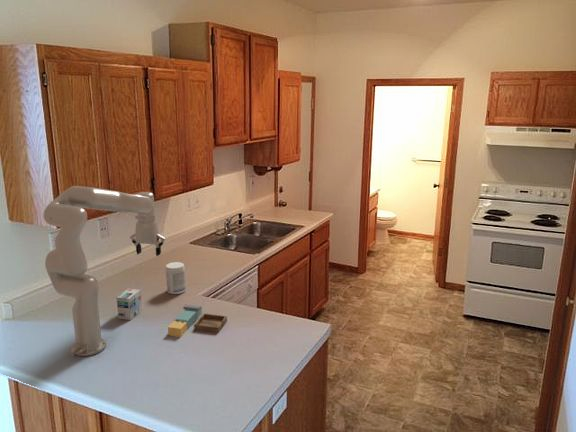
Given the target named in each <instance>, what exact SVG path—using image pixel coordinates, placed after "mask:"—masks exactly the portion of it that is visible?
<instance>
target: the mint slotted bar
mask: <svg viewBox="0 0 576 432" xmlns="http://www.w3.org/2000/svg"><path fill="white" fill-rule="evenodd" d="M202 308H203V307H202V305H198V304H197V305H196V304H184V306H183V309H182V311H181V312H180V314H178V316H177V317H176V318H175V319H174V321H180V322H187V331H188V330H189V329H190V328H191V326H193V325H194V324H195V323H196V322H197V321H198V320H199V318H200V317H201V316H202V315H203V309H202Z"/></svg>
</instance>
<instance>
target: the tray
mask: <svg viewBox="0 0 576 432" xmlns="http://www.w3.org/2000/svg"><path fill="white" fill-rule="evenodd" d="M227 322H228V316H227V315H221V314H220V315H218V314H209V313H202V314H201V315H200V316H199V318H198V319H197V320H196V321H195V322H194V323H193V330H194V331H200V332H208V333H216V334H219V333H220V331H221V330H222V329H223V327H224V326H225V324H227Z"/></svg>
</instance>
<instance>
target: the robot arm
mask: <svg viewBox="0 0 576 432" xmlns="http://www.w3.org/2000/svg"><path fill="white" fill-rule="evenodd" d="M86 209H87V210H94V211H95V210H97V211H107V212H108V211H109V212H115V213H117V212H119V213H122V212H123V213H124V212H125V213H134V214H135V213H137V215H135V219H136V220H137V221H136V223H135V230H134V231H135V233H134V234H131V235H130V236H129V238H130V240H131V242H132V244H133V245H134V246H135V251H136V254H137V255H139V254H141V253H142V245H141V244H145V245H155V256H156V257H159V256H160V255H161V254H162V250H161V249H162V248H161V247H162V246H163V245H164V243H165V242H166V239H167V238H166V237H164V236H162V235H161V234H160V231H159V225H158V222H157V221H156V214H155V213H156V212H155V197H154V194H153V192H150V191H141V192H139V193H134V194H132V193H127V192H122V191H117V190H110V189H106V188H105V189H104V188H99V187H92V186H91V187H90V186H81V185H73V186H70V187H68V188H67V189H66V190H64V191H63V192H62V193H60V194H59V195H57V197H56V198H55V199H53V200H52V201H51V202H50V203H49V204H48V205H47V206H46V207H45V209H44V211H43V219H44V221H45V223H46V224H48V225H50V226H53V227H60V230H59V231H58V233H57V235H56V237H55V239H54V247H55V249H52V250H50V251H49V252H48V253H47V255H46V257H45V261H44V264H45V269H46V272H47V275H48V277H49V279H50V282H51V284H52V288H53V289H54V290H55V292H56V293H58V294H59V295H62V296H65V297H70V298H74V299H75V302H74V303H73V306H72V308H71V310H72V311H71V313H72V323H73V331H74V339H75V343H73V344H74V345H73V346H72V348H71V350H69V351H68V354H69V355H70V356H74V355H75V356H79V357H90V356H93V355H96V354H99V353H100V352H101V353H102V351H103V350H105V348H106V347H107V342H106V341H105V340H104V339H102V333H101V332H102V331H101V323H100V310H99V292H100V283H99V281H98V279H97V278H96V277H94V276H92V275H89V274H85V273H86V272H87V270H88V261H87V259H86V255H85V253H84V250H83V247H82V244H81V239H80V238H81V234H82V232H83V229H84V228H85V226H86V224H87V221H88V213H87V211H86Z"/></svg>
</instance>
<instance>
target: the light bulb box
mask: <svg viewBox="0 0 576 432" xmlns="http://www.w3.org/2000/svg"><path fill="white" fill-rule="evenodd" d="M142 304H143V303H142V292H141V289H135V288H133V289H132V288H127V289H126V290H124V291H123V292H122V293H120V295H118V296H117V297H116V305H117V317H118V319H120V320H128V321H132V320H133V319H134V318H136V317H137V315H139V314H140V313H141V312H142V311H143V305H142Z"/></svg>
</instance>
